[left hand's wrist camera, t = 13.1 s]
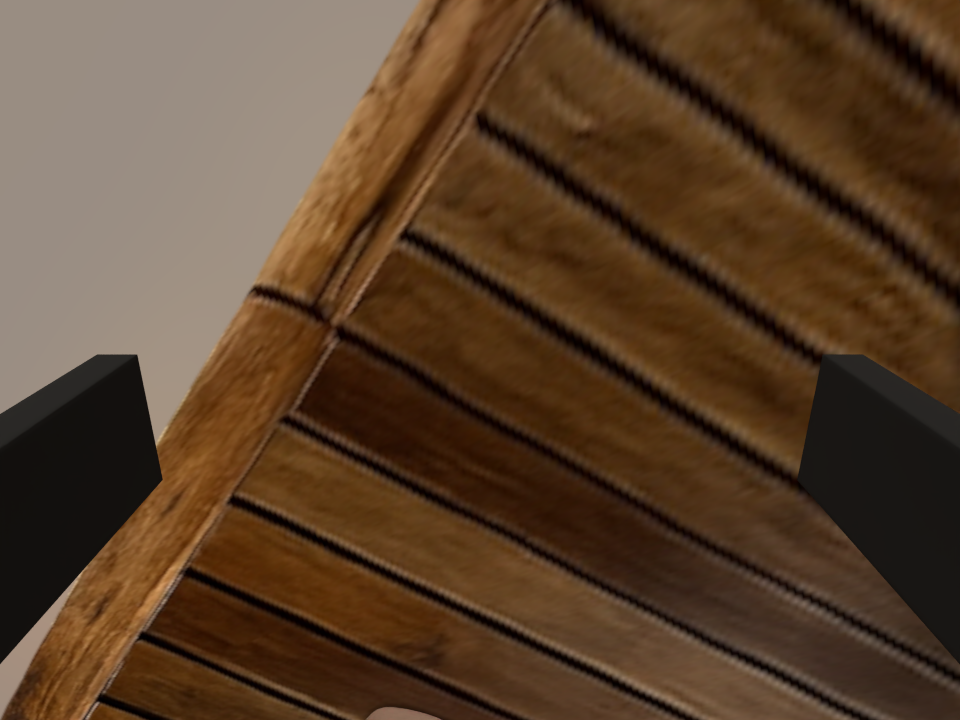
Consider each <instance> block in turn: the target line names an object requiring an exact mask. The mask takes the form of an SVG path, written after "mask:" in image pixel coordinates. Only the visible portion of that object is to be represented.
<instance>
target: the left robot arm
mask: <svg viewBox="0 0 960 720" xmlns="http://www.w3.org/2000/svg"><path fill="white" fill-rule="evenodd" d="M162 480H163V479H162V474H161V469H160V464H159V459H158V454H157V450H156V445H155V440H154V435H153V430H152V425H151V420H150V415H149V410H148V405H147V400H146V396H145V391H144V386H143V381H142V376H141V371H140V366H139V361H138V356H137V355H96V356H94V357H93V358H91V359H89V360H88V361H86V362H84V363H83V364H81V365H79V366H78V367H76V368H75V369H73V370H71V371H70V372H68V373H66V374H65V375H63V376H62V377H60V378H58V379H57V380H55V381H53V382H52V383H50V384H48V385H47V386H45V387H44V388H42V389H40V390H39V391H37V392H36V393H34V394H32V395H31V396H29V397H27V398H26V399H24V400H22V401H21V402H19V403H18V404H16V405H14V406H13V407H11V408H9V409H8V410H6V411H5V412H3V413H1V414H0V664H1V662H2V661H3V660H4V659H5V658H6V657H7V656H8V655H9V653H10V652H11V651H12V650H13V649H14V648H15V647H16V646H17V644H18V643H19V642H20V641H21V640H22V639H23V637H24V636H25V635H26V634H27V633H28V632H29V631H30V630H31V628H32V627H33V626H34V625H35V624H36V623H37V622H38V621H39V619H40V618H41V617H42V616H43V615H44V614H45V613H46V611H47V610H48V609H49V608H50V607H51V606H52V605H53V604H54V602H55V601H56V600H57V599H58V598H59V597H60V596H61V594H62V593H63V592H64V591H65V590H66V589H67V588H68V587H69V585H70V584H71V583H72V582H73V581H74V580H75V579H76V577H77V576H78V575H79V574H80V573H81V572H82V571H83V570H84V568H85V567H86V566H87V565H88V564H89V563H90V562H91V560H92V559H93V558H94V557H95V556H96V555H97V554H98V552H99V551H100V550H101V549H102V548H103V547H104V546H105V545H106V543H107V542H108V541H109V540H110V539H111V538H112V537H113V535H114V534H115V533H116V532H117V531H118V530H119V529H120V528H121V526H122V525H123V524H124V523H125V522H126V521H127V520H128V518H129V517H130V516H131V515H132V514H133V513H134V512H135V511H136V509H137V508H138V507H139V506H140V505H141V504H142V503H143V501H144V500H145V499H146V498H147V497H148V496H149V495H150V493H151V492H152V491H153V490H154V489H155V488H156V487H157V486H158V484H159V483H160V482H161V481H162ZM797 480H798V481H799V482H800V483H801V484H802V486H803V487H804V488H805V489H806V490H807V491H808V492H809V493H810V495H811V496H812V497H813V498H814V499H815V500H816V501H817V503H818V504H819V505H820V506H821V507H822V508H823V509H824V511H825V512H826V513H827V514H828V515H829V516H830V517H831V518H832V520H833V521H834V522H835V523H836V524H837V525H838V526H839V528H840V529H841V530H842V531H843V532H844V533H845V534H846V535H847V537H848V538H849V539H850V540H851V541H852V542H853V543H854V545H855V546H856V547H857V548H858V549H859V550H860V551H861V552H862V554H863V555H864V556H865V557H866V558H867V559H868V560H869V562H870V563H871V564H872V565H873V566H874V567H875V568H876V570H877V571H878V572H879V573H880V574H881V575H882V576H883V577H884V579H885V580H886V581H887V582H888V583H889V584H890V585H891V587H892V588H893V589H894V590H895V591H896V592H897V593H898V594H899V596H900V597H901V598H902V599H903V600H904V601H905V602H906V604H907V605H908V606H909V607H910V608H911V609H912V610H913V611H914V613H915V614H916V615H917V616H918V617H919V618H920V619H921V621H922V622H923V623H924V624H925V625H926V626H927V627H928V629H929V630H930V631H931V632H932V633H933V634H934V635H935V636H936V638H937V639H938V640H939V641H940V642H941V643H942V644H943V646H944V647H945V648H946V649H947V650H948V651H949V652H950V653H951V655H952V656H953V657H954V658H955V659H956V660H957V661H958V663H959V664H960V414H959V413H957V412H955V411H954V410H952V409H951V408H949V407H947V406H946V405H944V404H942V403H941V402H939V401H938V400H936V399H934V398H933V397H931V396H929V395H928V394H926V393H925V392H923V391H921V390H920V389H918V388H916V387H915V386H913V385H912V384H910V383H908V382H907V381H905V380H903V379H902V378H900V377H898V376H897V375H895V374H894V373H892V372H890V371H889V370H887V369H885V368H884V367H882V366H881V365H879V364H877V363H876V362H874V361H872V360H871V359H869V358H868V357H866V356H864V355H823V356H822V361H821V366H820V371H819V376H818V381H817V386H816V391H815V395H814V400H813V405H812V410H811V415H810V420H809V425H808V430H807V435H806V440H805V445H804V450H803V454H802V459H801V464H800V469H799V474H798V479H797Z"/></svg>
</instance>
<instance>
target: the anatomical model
mask: <svg viewBox="0 0 960 720" xmlns="http://www.w3.org/2000/svg"><path fill="white" fill-rule="evenodd" d="M366 720H441V719H439V718H437V717H434V716H431V715H428V714H425V713H421V712H418V711H413V710H409V709H403V708H396V707H384V708H380V709H377V710H376V711H374V712H373V713H372V714H371V715H370V716H369V717H368V718H367V719H366Z"/></svg>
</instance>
